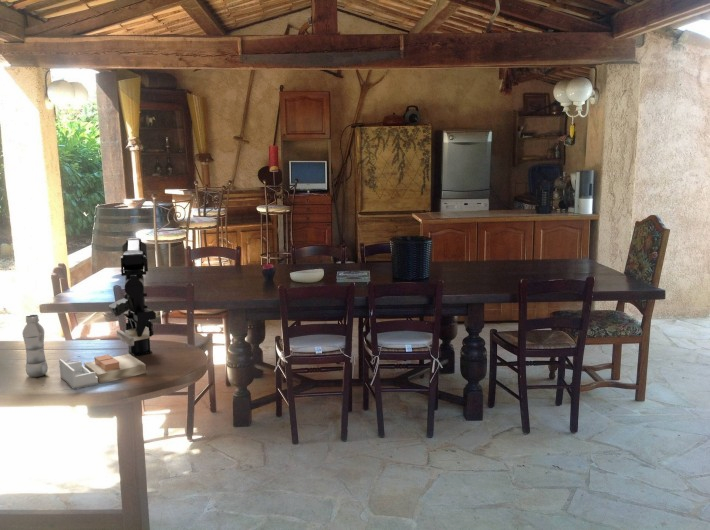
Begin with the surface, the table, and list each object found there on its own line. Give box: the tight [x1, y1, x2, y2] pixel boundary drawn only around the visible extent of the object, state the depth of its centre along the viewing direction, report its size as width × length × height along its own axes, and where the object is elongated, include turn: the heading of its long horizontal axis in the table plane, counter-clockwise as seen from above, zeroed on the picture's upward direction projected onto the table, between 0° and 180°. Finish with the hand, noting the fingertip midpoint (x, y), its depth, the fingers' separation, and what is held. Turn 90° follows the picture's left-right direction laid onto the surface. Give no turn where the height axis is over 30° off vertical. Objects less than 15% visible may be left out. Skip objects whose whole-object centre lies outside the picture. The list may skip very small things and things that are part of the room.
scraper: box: [116, 327, 150, 347], centre depth 214 cm, size 8×12×4 cm
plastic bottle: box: [22, 314, 49, 378], centre depth 206 cm, size 6×7×20 cm
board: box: [83, 353, 147, 385], centre depth 211 cm, size 15×14×3 cm
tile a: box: [94, 354, 114, 366], centre depth 211 cm, size 4×4×2 cm
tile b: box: [100, 359, 120, 371], centre depth 207 cm, size 4×4×2 cm
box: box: [58, 358, 99, 390], centre depth 203 cm, size 7×14×6 cm, turn 40°
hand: (138, 335), depth 215 cm, fingers closed on scraper, 2 cm apart
